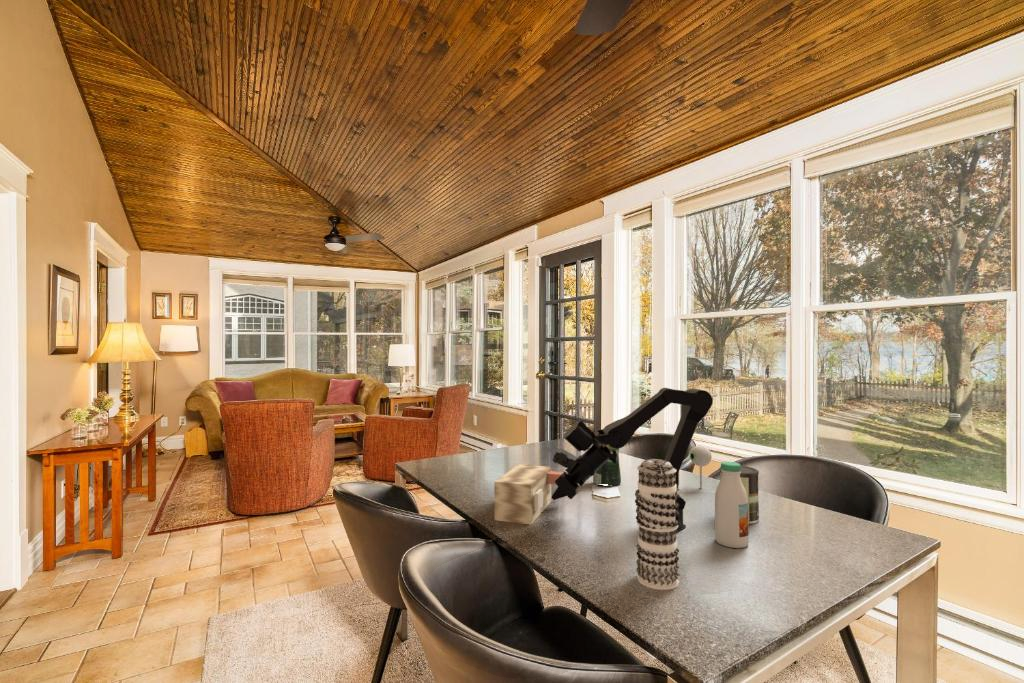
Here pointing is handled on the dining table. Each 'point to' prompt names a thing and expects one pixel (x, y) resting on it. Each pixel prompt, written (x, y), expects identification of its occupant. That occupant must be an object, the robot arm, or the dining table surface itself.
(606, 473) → the coffee jar
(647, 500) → the decorative candle
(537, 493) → the cream plug
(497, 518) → the socket block
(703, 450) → the lollipop
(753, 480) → the coffee can
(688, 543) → the dining table surface
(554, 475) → the terracotta plug
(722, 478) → the milk bottle
